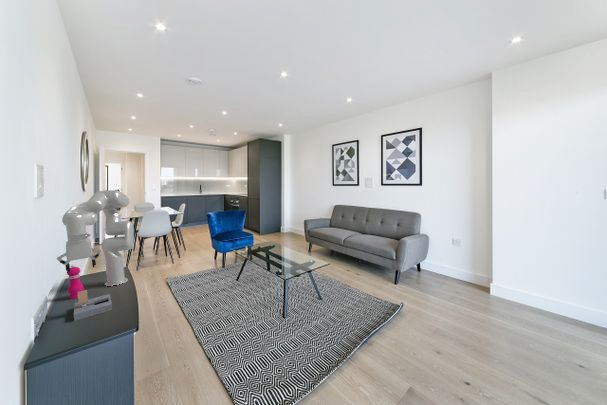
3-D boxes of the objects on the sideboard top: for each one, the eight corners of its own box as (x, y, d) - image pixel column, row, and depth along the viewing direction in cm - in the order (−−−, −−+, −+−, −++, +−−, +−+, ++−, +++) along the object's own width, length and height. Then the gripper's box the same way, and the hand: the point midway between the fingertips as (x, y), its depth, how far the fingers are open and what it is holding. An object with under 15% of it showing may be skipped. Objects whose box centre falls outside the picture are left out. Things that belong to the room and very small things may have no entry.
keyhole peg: (78, 311, 131) (76, 291, 130) (90, 308, 134) (88, 289, 133) (78, 315, 127) (76, 294, 126) (90, 311, 131) (88, 291, 130)
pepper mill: (66, 300, 145) (62, 267, 143) (71, 295, 151) (67, 264, 149) (82, 297, 148) (78, 265, 146) (86, 292, 154) (82, 261, 153)
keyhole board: (75, 308, 135) (74, 302, 134) (110, 299, 144) (109, 293, 144) (74, 321, 122) (73, 314, 122) (112, 309, 132) (111, 304, 131)
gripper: (98, 233, 137) (102, 263, 139) (54, 239, 126) (59, 271, 128) (99, 235, 132) (103, 266, 133) (53, 242, 120) (58, 275, 122)
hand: (81, 269), depth 131 cm, fingers open, 9 cm apart
